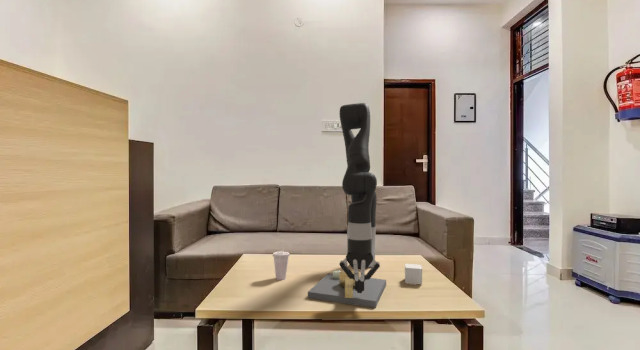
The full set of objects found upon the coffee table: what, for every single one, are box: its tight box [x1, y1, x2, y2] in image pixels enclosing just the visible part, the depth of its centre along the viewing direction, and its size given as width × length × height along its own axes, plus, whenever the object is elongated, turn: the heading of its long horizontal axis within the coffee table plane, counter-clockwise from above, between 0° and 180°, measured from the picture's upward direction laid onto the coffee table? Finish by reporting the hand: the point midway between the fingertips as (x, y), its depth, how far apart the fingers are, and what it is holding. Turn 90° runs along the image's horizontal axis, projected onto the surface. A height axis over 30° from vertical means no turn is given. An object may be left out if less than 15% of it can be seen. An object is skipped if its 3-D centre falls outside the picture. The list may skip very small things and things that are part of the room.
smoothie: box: [272, 241, 290, 281], centre depth 128 cm, size 6×6×14 cm
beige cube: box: [404, 263, 423, 285], centre depth 126 cm, size 6×6×6 cm
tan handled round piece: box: [339, 269, 361, 298], centre depth 109 cm, size 18×7×4 cm, turn 174°
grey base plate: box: [307, 270, 387, 309], centre depth 115 cm, size 22×22×5 cm
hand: (359, 292), depth 104 cm, fingers closed
